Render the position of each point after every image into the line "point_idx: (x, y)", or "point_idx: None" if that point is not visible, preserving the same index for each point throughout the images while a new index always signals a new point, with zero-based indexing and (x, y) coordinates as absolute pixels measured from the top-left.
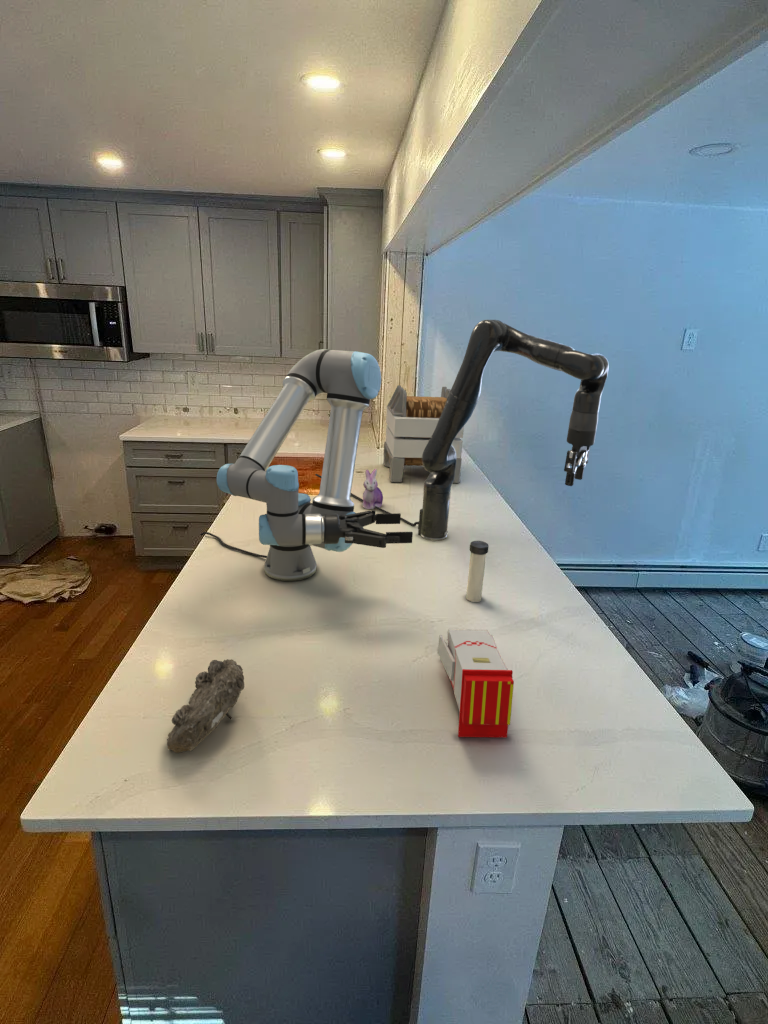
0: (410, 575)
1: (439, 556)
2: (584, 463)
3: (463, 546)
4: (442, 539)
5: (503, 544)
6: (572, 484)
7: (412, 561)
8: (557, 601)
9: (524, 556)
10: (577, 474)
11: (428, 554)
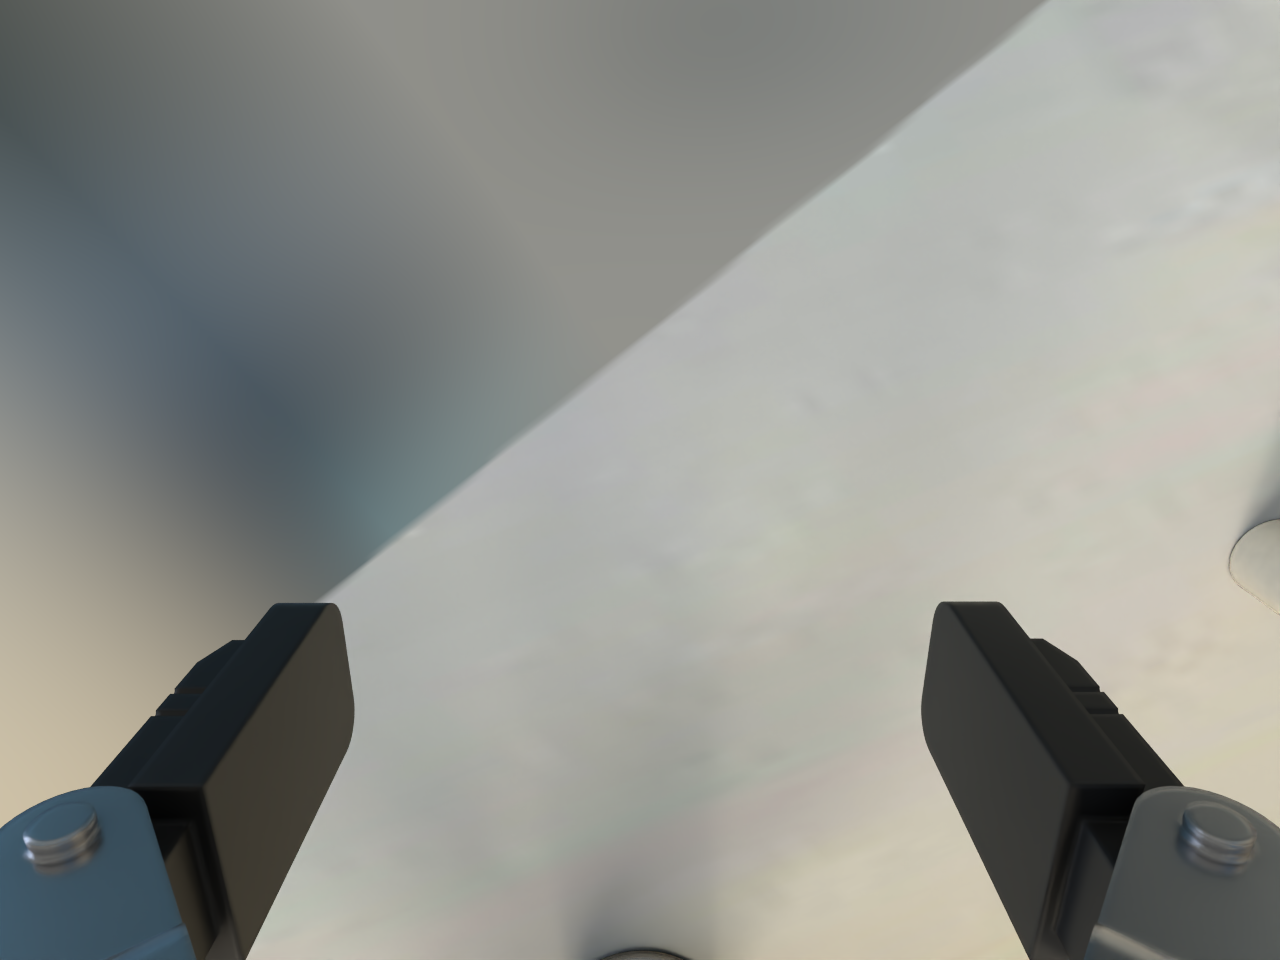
0: None
1: (866, 878)
2: (148, 915)
3: (658, 851)
4: (666, 956)
5: (464, 715)
6: (1006, 614)
7: (1004, 934)
8: (1068, 158)
9: (545, 559)
10: (317, 752)
11: (877, 922)
